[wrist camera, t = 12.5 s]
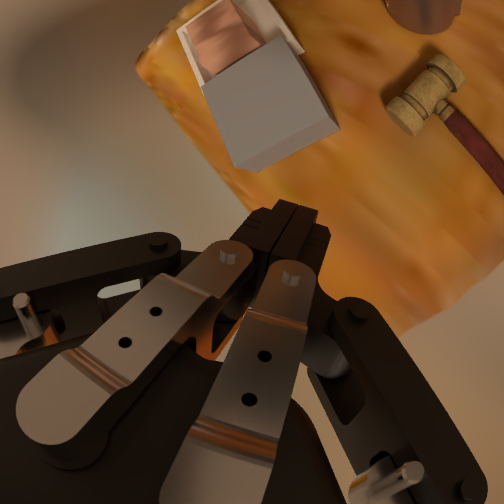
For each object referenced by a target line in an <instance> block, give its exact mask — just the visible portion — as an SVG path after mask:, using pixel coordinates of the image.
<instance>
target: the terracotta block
mask: <svg viewBox="0 0 504 504" xmlns="http://www.w3.org/2000/svg"><path fill="white" fill-rule="evenodd" d="M186 29H187V32H188V34H189V36H190V39H191V41H192V44H193V46H194V48H195V51H196V53H197V56H198V58H199V60H200V63H201V65H202V67H204V68H206V69H207V70H209V71H211V72H213V73H214V74H216V75H218V74H220V73H221V72H223V71H224V70H226V69H227V68H229V67H230V66H232V65H233V64H235V63H236V62H238V61H239V60H241V59H243V58H244V57H246V56H247V55H249V54H251V53H252V52H254V51H255V50H257V49H259V48H260V47H262V46H264V45H265V44H266V42H265V40H264V38H263V37H262V35H261V33H260V31H259V30H258V28H257V26H256V25H255V23H254V21H253V20H252V19H251V18H250V17H249V16H248V15H247V14H246V13H245V12H244V11H243V10H242V9H240V8H239V7H238V6H237V5H236V4H235V3H234V2H233V1H232V0H223V1H221V2H220V3H218V4H217V5H215V6H214V7H212V8H211V9H209V10H208V11H206V12H205V13H204V14H202V15H201V16H199V17H198V18H196V19H195V20H194V21H192V22H191V23H190V24H188V25H187V26H186Z"/></svg>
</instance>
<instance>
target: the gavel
mask: <svg viewBox="0 0 504 504" xmlns="http://www.w3.org/2000/svg"><path fill="white" fill-rule="evenodd" d="M426 66H427V70H424V71H423V72H422V73H421V74H420V75H419V76H418V77H417V78H416V79H415V80H414V81H413V82H412V83H411V84H410V85H409V86H408V87H407V89H406V90H405V91H404V92H403V95H402V96H401V97H398V96H395V97H394V98H393V99H392V100H391V101H390V102H389V103H388V104H387V105H386V106H385V110H386V112H387V114H388V115H389V116H390V117H391V119H392V120H393V121H394V122H395V123H396V124H397V125H398V126H399V127H401V128H402V129H403V130H404V131H405V132H406V133H407V134H409V135H411V136H416V134H417V133H418V132H419V131H420V130H421V129H422V128H423V127H424V126H425V123H424V120H425V119H426V118H429V117H430V116H431V114H432V113H435V114H436V115H439V116H440V117H439V118H440V119H441V120H442V121H443V122H444V123H445V125H446V126H447V128H448V129H449V130H450V132H451V133H452V134H453V135H454V136H455V137H456V138H457V139H458V140H459V141H460V143H461V144H462V145H463V146H464V147H465V148H466V149H467V150H468V151H469V153H470V154H471V155H472V156H473V157H474V158H475V160H476V161H477V162H478V163H479V164H480V166H481V167H482V168H483V169H484V170H485V172H486V173H487V174H488V175H489V177H490V178H491V179H492V180H493V182H494V183H495V184H496V186H497V187H498V188H499V190H500V191H501V192H502V194H503V195H504V162H503V161H502V160H501V158H500V157H499V156H498V155H497V153H496V152H495V151H494V150H493V149H492V147H491V146H490V145H489V144H488V143H487V141H486V140H485V139H484V138H483V137H482V136H481V135H480V133H479V132H478V131H477V130H476V129H475V128H474V127H473V126H472V125H471V124H470V122H469V121H468V120H467V119H466V118H465V117H464V116H462V115H461V114H460V113H459V112H457V111H456V110H455V109H454V108H453V107H452V106H451V105H450V106H449V105H448V102H447V101H446V98H447V97H448V96H449V95H450V92H453V93H455V92H457V91H458V90H459V89H460V87H461V86H462V85H463V84H464V83H465V77H464V74H463V72H462V71H461V69H460V68H459V67H458V65H457V64H456V63H455V62H454V61H452V60H451V59H450V58H448V57H447V56H445V55H442V54H435V55H434V56H433V58H432V59H431V60H430V61H429V62H428V63H427V65H426Z"/></svg>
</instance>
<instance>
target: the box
mask: <svg viewBox="0 0 504 504" xmlns="http://www.w3.org/2000/svg"><path fill="white" fill-rule="evenodd" d="M221 1H223V0H217V1H216V2H214V3H213V4H212V5H210V6H209V7H207V8H206V9H204V10H203V11H202V12H200V13H199V14H198V15H196V16H195V17H193V18H192V19H191V20H189V21H188V22H187V23H186V24H184V25H183V26H182V27H180V28H179V29H178V30H177V34H178V36H179V38H180V41H181V43H182V45H183V48H184V50H185V52H186V55H187V57H188V59H189V62H190V64H191V66H192V69H193V71H194V73H195V76H196V78H197V80H198V83H199V85H200V88H201V86H203V85H204V84H205V83H207V82H208V81H210V80H211V79H213V78H214V77H215V76H217V75H216V74H214V73H213V72H211V71H209V70H207V69H206V68H204V67H202V65H201V63H200V60H199V58H198V56H197V53H196V51H195V48H194V46H193V44H192V41H191V39H190V36H189V34H188V32H187V29H186V26H187V25H188V24H190V23H191V22H192V21H194V20H195V19H196V18H198V17H199V16H201V15H202V14H204V13H205V12H206V11H208V10H209V9H211V8H212V7H214V6H215V5H217V4H218V3H220V2H221ZM232 1H233V2H234V3H235V4H236V5H237V6H238V7H239V8H240V9H242V10H243V11H244V12H245V13H246V14H247V15H248V16H249V17H250V18H251V19H252V20H253V21H254V23H255V25H256V26H257V28H258V30H259V31H260V33H261V35H262V37H263V38H264V40H265V42H266V44H267V43H269V42H270V41H272V40H274V39H276V38H277V37H279V36H282V37H283V38H284V39H285V40H286V41H287V42H288V44H289V45H290V46H291V47H292V48H293V49H294V51H295V52H296V53H297V54H298V55H300V54H302V53H304V52H305V51H304V50H303V48H302V46H301V45H300V43H299V42H298V40H297V39H296V37H295V36H294V34H293V33H292V31H291V30H290V28H289V27H288V25H287V24H286V23H285V21H284V20H283V18H282V17H281V15H280V14H279V13H278V11H277V10H276V8H275V7H274V6H273V4H272V3H271V2H270V0H232ZM201 90H202V89H201ZM202 92H203V91H202ZM203 95H204V93H203Z"/></svg>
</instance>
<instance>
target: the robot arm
mask: <svg viewBox="0 0 504 504" xmlns="http://www.w3.org/2000/svg"><path fill="white" fill-rule="evenodd" d="M461 2H462V0H385V3H386V6H387V9H388V12H389V14H390V15H391V17H392V18H393V19H394V20H395V21H396V22H397V23H398V24H400V25H401V26H402V27H404V28H406V29H408V30H411V31H413V32H416V33H422V34H435V33H439V32H442V31H444V30H446V29H447V28H449V26H450V25H451V24H452V21H453V19H454V17H455V16H458V15H460V9H461ZM317 215H318V210H315V209H312V208H308V207H305V206H302V205H298V204H295V203H292V202H288V201H285V200H282V199H279V200H278V202H277V203H276V204H275V206H274V207H273V208H272V210H271V209H267V208H264V207H262V208H260V209H257V210H255V211H253V212H252V213H251V214H250V215H249V216H248V217H247V219H246V220H245V221H244V222H243V224H242V225H241V226H240V227H239V228H238V229H237V230H236V232H235V233H234V234H233V235H232V236H231V237H230V239H229V240H221V241H217V242H214V243H212V244H211V245H210V246H208V247H207V248H206V249H205V250H204V251H203V252H194V251H186V250H181V242H180V240H179V239H178V238H177V237H176V236H174V235H173V234H170V233H165V232H153V233H148V234H143V235H139V236H134V237H129V238H125V239H120V240H116V241H111V242H107V243H102V244H98V245H93V246H89V247H85V248H80V249H76V250H72V251H67V252H63V253H59V254H55V255H51V256H47V257H43V258H39V259H35V260H31V261H27V262H22V263H19V264H15V265H11V266H7V267H3V268H0V504H347V503H346V501H345V499H344V496H343V494H342V491H341V489H340V487H339V484H338V482H337V480H336V477H335V475H334V472H333V470H332V468H331V465H330V463H329V460H328V458H327V455H326V453H325V451H324V448H323V446H322V443H321V441H320V439H319V436H318V434H317V431H316V429H315V427H314V424H313V423H312V421H311V419H310V418H309V416H308V415H307V413H306V412H305V411H304V410H303V408H302V407H301V406H300V405H299V404H298V403H297V402H296V401H295V400H293V399H292V398H291V395H292V391H293V387H294V383H295V379H296V376H297V372H298V368H299V364H300V362H301V363H303V364H304V365H306V366H307V367H308V368H307V373H308V377H309V379H310V381H311V383H312V385H313V387H314V389H315V391H316V393H317V395H318V397H319V399H320V401H321V404H322V406H323V408H324V410H325V412H326V414H327V416H328V418H329V420H330V422H331V424H332V426H333V428H334V430H335V432H336V434H337V436H338V439H339V441H340V443H341V445H342V447H343V449H344V451H345V453H346V455H347V457H348V459H349V461H350V463H351V465H352V467H353V469H354V471H355V473H356V475H357V476H356V477H355V478H354V480H353V481H352V483H351V485H350V487H349V493H348V497H349V502H350V504H484V503H485V501H486V498H487V492H488V485H487V480H486V477H485V475H484V473H483V472H482V470H481V468H480V466H479V465H478V463H477V461H476V460H475V458H474V456H473V454H472V452H471V451H470V449H469V447H468V446H467V444H466V442H465V441H464V439H463V437H462V436H461V434H460V433H459V431H458V429H457V428H456V426H455V424H454V423H453V421H452V419H451V418H450V416H449V415H448V413H447V411H446V410H445V408H444V407H443V405H442V404H441V402H440V400H439V399H438V397H437V396H436V394H435V393H434V391H433V390H432V388H431V387H430V385H429V384H428V382H427V381H426V379H425V377H424V376H423V374H422V373H421V371H420V370H419V368H418V367H417V366H416V364H415V363H414V361H413V360H412V358H411V357H410V355H409V354H408V353H407V351H406V349H405V348H404V347H403V345H402V344H401V342H400V341H399V339H398V338H397V337H396V335H395V334H394V332H393V331H392V330H391V328H390V327H389V325H388V324H387V323H386V321H385V320H384V318H383V317H382V316H381V314H380V313H379V311H378V310H377V309H376V308H375V307H374V306H373V305H372V304H370V303H369V302H367V301H365V300H363V299H360V298H356V297H345V298H342V299H340V300H339V301H336V300H334V299H333V298H331V297H330V296H328V295H327V294H326V293H325V292H324V291H323V290H322V289H321V287H320V285H319V283H318V275H319V272H320V269H321V266H322V263H323V260H324V257H325V254H326V250H327V247H328V244H329V241H330V238H331V234H330V231H329V229H328V227H326V226H323V225H320V224H316V219H317ZM136 279H139V280H140V287H141V289H140V290H137V291H133V292H129V293H125V294H121V295H117V296H113V297H110V298H104V299H103V298H99V297H98V296H97V294H98V292H99V291H100V290H101V289H103V288H104V287H107V286H111V285H116V284H119V283H124V282H128V281H132V280H136ZM248 307H251V308H252V309H248ZM247 309H248V310H247ZM245 312H246V313H245ZM244 314H245V315H244ZM243 315H244V318H243ZM239 326H240V327H239ZM238 328H239V329H238ZM237 329H238V331H237ZM236 331H237V333H236V336H235V338H234V340H233V342H232V345H231V347H230V349H229V351H228V353H227V356H226V358H225V360H224V362H219V361H215V360H216V359H217V357H218V356H219V355H220V353H221V352H222V350H223V349H224V347H225V346H226V345H227V343H228V342H229V340H230V339H231V338H232V336H233V335H234V333H235V332H236Z"/></svg>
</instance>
